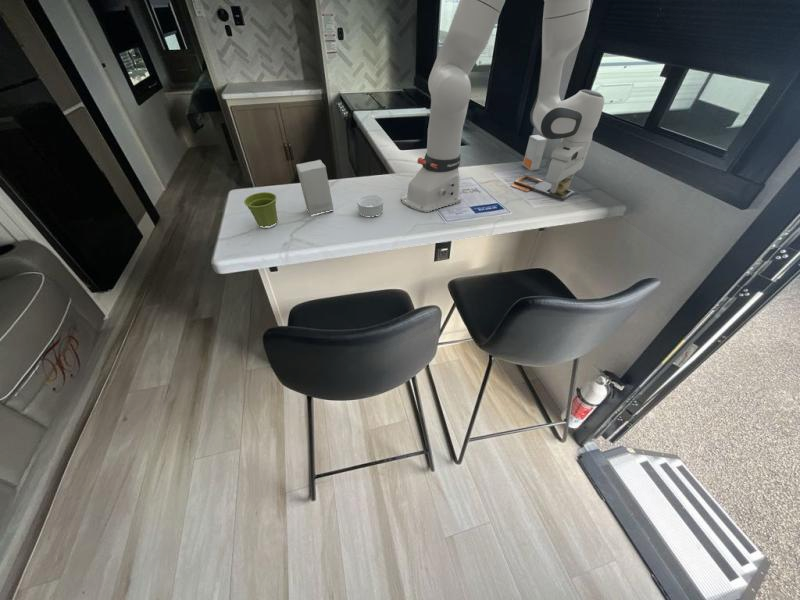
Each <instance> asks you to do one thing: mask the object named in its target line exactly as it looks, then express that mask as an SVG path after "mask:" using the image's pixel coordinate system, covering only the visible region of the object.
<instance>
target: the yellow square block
mask: <svg viewBox="0 0 800 600" xmlns="http://www.w3.org/2000/svg"><path fill="white" fill-rule="evenodd" d="M572 180H573V178H572V179H569V178H565V179H564V180H562V181H560V182H559V184H558V190H557V192H555V193H552V192H550V191H549V192H550V193H552V194H555V195H558V196H561V197H564V196H565V195H567V194H568V193H567V191H568V189H569V188H570V185H571V183H572ZM550 190H551V189H550ZM569 190H570V189H569Z"/></svg>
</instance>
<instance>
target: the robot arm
mask: <svg viewBox="0 0 800 600" xmlns="http://www.w3.org/2000/svg"><path fill="white" fill-rule="evenodd" d="M505 2H506V0H458V3H457V7H456V10H455V12H454V14H453V18H452V20H451V24H450V26H449V28H448V31H447V34H446V36H445V38H444V40H443V43H442V45H441V47H440V49H439V50H438V51H439V52H438V54H437V56H436V58H435V61H434V63H433V66H432V68H431V71H430V74H429V76H428V81H427V85H428V92H429V94H430V100H431V101H430V112H429V120H428V125H427V126H428V128H427V139H426V141H427V143H426V153H425V155H424V157H423V158H422V157H417V158H418V159H417V164H419V165H421V168H420V169H419V170H418V171H417V173H416V174H415V175H414V177H413V178H412V179H411V180H410V181H409V182H408V186H407V192H406V193H404V194H403V195H401V197H400V201H401V200H402V201H403V202H404V203H405V204H406V205H405V204H404V203H403V202H402V201H401V202H402V203H403V204H404V205H405V206H407V205H408V206H410V207H412V208H414V209H413V210H415V209H417V210H416V211H418V210H420V211H419V212H421V211H424V212H423V213H431V212H433V211H432V210H434V211H436V210H435V209H437V210H439V209H438V208H440V209H442V208H441V207H444V206H447V207H449V206H448V205H450V206H451V205H452V204H453V205H455V203H456V204H458V202H459V203H461V201H462V200H461V199H462V197H461V196H460V194H461V193H460V189H461V188H460V184H461V183H460V173H459V167H460V166H461V153H460V152H461V146H462V145H461V144H462V135H463V128H464V125H465V121H466V117H467V112H468V107H469V102H470V100H471V97H472V96H471V95H472V85H471V84H472V83H471V80H470V77H469V75H470V74H471V72H472V70H473V68H474V66H475V64H476V63H477V61H478V60H479V58H480V56H481V54H482V53H483V52H484V51H485V49H486V47H487V45H488V42H489V40H490V38H491V36H492V34H493V30H494V28H495V26H496V25H497V21H498V19H499V17H500V15H501V12H502V9H503V7H504V5H505ZM543 2H544V4H543V14H542V15H543V16H542V26H541V27H542V30H541V32H542V34H541V61H540V62H541V63H540V64H541V65H540V70H539V71H540V72H539V79H538V80H539V81H538V89H537V95H536V98H535V99H534V100H535V101H534V102H533V105H532V107H531V111H530V113H529V114H530V115H529V118H530V123H531V125H532V127H534V128H535V129H536V130H538V132H539V133H540V134H541V135H542V137H544V138H546V139H547V140H559V139H561V140H560V142H559V144H557V146H556V147H555V148H554V149H553V150H552V153H551V156H550V157H551V158H552V159H551V160H550V163H549V166H548V170H547V174H546V178H545V179H546V182H547V183H550V184H551V190H550V191H549V192H552V193H555V192H557V190H558V184H559V182H560V181H562V180H564V179H565V178H569V179H572V180H573V177H574V176H575V173H577V172H578V171H580V170H581V169H582V168H583V166H584V164H585V161H586V157H587V154H588V150H589V149H590V145H591V142H592V140H593V136H594V135H593V133H594V131H595V130H596V128H597V127H598V124H599V122H600V118H601V115H602V112H603V109H604V106H605V105H604V104H605V98H604V96H603V95H602V94H601V93H600V92H597V91H594V90H590V89H581V90H579V91H578V92H577V93H576V94H574V95H572V96H570V97H568V98H567V99H564V100H561V97H560V87H561V80H562V74H563V68H564V63H565V61H566V59H567V57H568V56H569V54H571V52H573V51H574V50H575V49H576V48H578V46H579V45H580V44H581V42H582V40H583V39H584V36H585V32H586V31H587V29H586V28H587V26H588V22H589V16H590V15H589V14H590V7H591V0H543ZM405 200H406V201H405ZM408 206H407V207H408ZM410 207H409V208H410ZM412 208H411V209H412ZM444 208H445V207H444ZM430 211H431V212H430Z"/></svg>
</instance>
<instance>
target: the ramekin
mask: <svg viewBox="0 0 800 600" xmlns="http://www.w3.org/2000/svg"><path fill="white" fill-rule="evenodd" d="M356 204H357V207H358V212H360V213H361V214H362V215H364V216H370V217H372V216H376V215H379V214H381V213H382V214H383V212H382V211H384V198H383V197H381V196H379V195H377V194H367V195H362V196H360V197H359V198H358V199H357V200H356ZM370 205H372V206H373V207H366V206H370ZM360 213H359V214H360ZM361 214H360V215H361ZM382 214H381V215H382ZM362 215H361V216H362ZM379 216H380V215H379Z"/></svg>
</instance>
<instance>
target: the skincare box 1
mask: <svg viewBox="0 0 800 600" xmlns="http://www.w3.org/2000/svg"><path fill="white" fill-rule="evenodd" d="M295 166H296V170H297V174H298V179H299V183H300V187H301V189H302V190H301V191H302V195H303V198H304V203H305V206H306V210H307V209H308V210H307V212H308V211H309V212H308V213H310V216H311V215H313V214H317V213H321V212H326V211H330V210H333V209H334V204H333V200H332V194H331V189H330V184H329V178H328V173H327V167H326V164H324V163H323V162H322V160H321V159H317V160H314V161H313V160H312V161H307V162H303V163H297V164H295Z"/></svg>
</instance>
